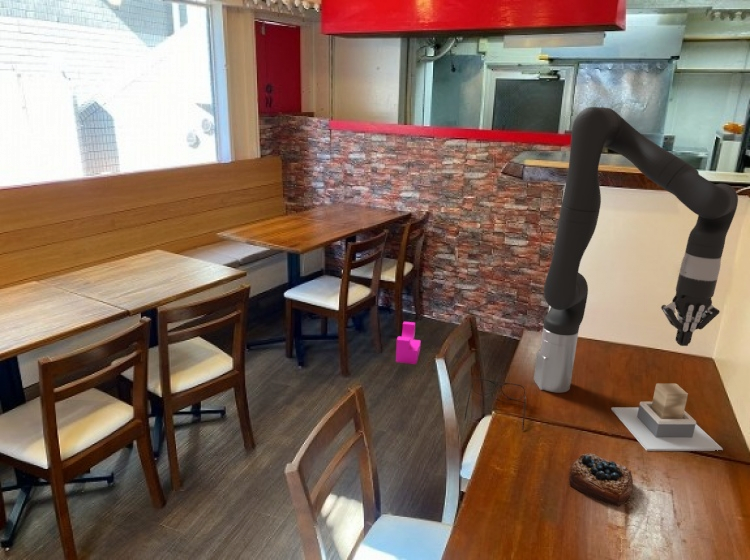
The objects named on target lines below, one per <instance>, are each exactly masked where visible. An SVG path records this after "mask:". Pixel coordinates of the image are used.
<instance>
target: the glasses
mask: <svg viewBox="0 0 750 560" xmlns="http://www.w3.org/2000/svg"><path fill="white" fill-rule="evenodd" d="M477 380H479V381H486V382H488V383H489V382H491V383H492V384H494V388H493V389H492V391H490V392H487V393H478V392H476V391H475V389H474V387H473V385H474V382H475V381H477ZM495 383H497V384H495ZM501 384H502V385H501ZM505 385H514V386H518V387H521V388H523V395H522V396H521V397H520V398H517V399H516V398H514V399H513V398H512V397H509V396H507V395H506V394H505V393H504V391H503V389H502V387H503V386H505ZM497 386H500V391H501V393H502V394H503V395H504V396H505V397H507V399H509V400H512V401H519V400H521V399H522V398H523V416H522V429H521V430H522V431H524V429H525V428H524V427H525V414H526V411H525V410H526V389H525V387H524V386H523V385H522V384H517V383H509V382H503V383H502V382H501V381H493V380H489V379H484V378H475V379H474V380H473V381H472V382H471V385H470V389H469V393H468V397H467V402H466V403H467V404H466V407H465V413H464V420H466V419H467V414H468V407H469V402H470V396H471V393H472V390H473V392H474V393H475V394H477V395H479V396H485V395H486V396H487V395H490V394H491V393H493V392H494V391H495V389H496V387H497Z"/></svg>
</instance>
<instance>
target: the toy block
mask: <svg viewBox="0 0 750 560" xmlns="http://www.w3.org/2000/svg"><path fill="white" fill-rule="evenodd" d="M415 333H416V322H412V321H411V322H410V321H403V323H402V332H401V336H400V335H399V336H397V338H396V351H395V362H396V363H402V364H412V365H417V362H418V359H419V355H420V351H421V344H422V343H421V341H422V340H420V339H415Z"/></svg>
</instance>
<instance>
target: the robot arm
mask: <svg viewBox="0 0 750 560" xmlns="http://www.w3.org/2000/svg"><path fill="white" fill-rule="evenodd" d="M570 137H571V139H570V151H569V159H568V160H569V163H568V170H567V174H566V179H565V184H564V191H563V196H562V199H561V201H562V202H561V203H560V204H561V205H560V210H559V211H560V212H559V217H558V221H557V222H558V224H557V230H556V235H555V240H554V247H553V252H552V253H553V254H552V257H551V261H550V265H549V269H548V272H547V275H546V278H545V282H544V285H543V296H544V299H545V302H546V303H547V305H548V306H549V307H550V308H549V310H548V312H547V314H546V315H545V317H544V319H543V325H542V335H541V341H540V342H541V343H540V349H537V352H536V359H535V367H534V368H535V369H534V376H533V381H534V382H535V384H536V386H537V387H538V388H539V390H541V391H547V392H550V393H556V394H557V393H558V394H559V393H566V392H568V391H569V390H570V388H571V383H572V377H573V376H572V375H573V371H574V370H573V369H574V362H575V357H576V350H577V344H578V343H577V342H578V336H579V331H580V327H581V324H582V323H583V319H584V317H585V311H586V306H587V300H588V294H589V286H588V282H587V280H586V278H585V277H584V275H582V273H580V272H579V271H580V270H579V269H580V265H581V261H582V259H583V257H584V254H585V252H586V250H587V248H588V246H589V244H590V242H591V240H592V238H593V236H594V233H595V231H596V227H597V225H598V219H599V216H600V209H601V204H602V203H601V202H602V197H601V196H602V195H601V187H600V181H599V180H600V179H599V166H600V161H601V156H602V154H603V153H602V152H603V149H604V148H606V149H608V150H611V151H613V152H615V153H618V154H619V155H621V156H622V157H624V158H625V159H626V160H628V161H629V162H630V163H632V164H633V165H634V167H636V168H637V170H638V171H640V172H641V173H642V175H644V176H645V177H646V178H647V179H648V180H650V181H651V182H653V183H654V184H656V185H657V186H658V187H660V188H662V189H663V190H665V191H667V192H669V193H670V194H672V195H674V196H675V198H676V199H677V200H678V201H680V202H681V203H682V204H683V205H684V206H685V207H686V208H687V209H689V210H690V211H691V212H692V213H694V214H695V215H697V220H696V223H695V225H694V226H693V228H692V229H691V230H690V232H689V234H688V235H689V236H688V238H687V242H686V248H685V252H684V254H683V258H682V260H681V264H680V268H679V271H678V272H679V273H678V277H677V282H676V287H675V295H674V297H673V298H672V302H671V303H668V304H667V305H666V304H663V305H661V307H660V309H661V311H662V312H663V313H664V315H665V317H666V318H667V321H668V322H669V324H670V325H671V326H672V327H673V328H675V329H677V330H676V335H675V342H676V343H677V344H678V345H679V346H680V347H688V346H689V345H690V343H691V342H692V337H693V333H694V332H695V331H696V330H702V329H704V328H705V327H706V326H707V325H708V324H709V323H710V322H711V321H712V320H714V319H715V318H716V317H717V316H718V315H719V314H720V312H721V311H720V309H718V308H716V307H715V306H714V305H712V304H713V300H712V298H713V297H714V294H715V290H716V286H717V283H718V278H719V274H720V271H721V265H722V264H721V262H722V257H723V252H724V248H725V245H726V244H725V243H726V237H727V234H728V232H729V230H730V227H731V225H732V222H733V219H734V217H735V214H736V211H737V207H738V203H739V196H738V193H737V191H736V189H735V188H734V187H732V186H731V185H730V184H726V183H716V184H715V183H713V182H711V181H710V180H708V179H707V178H705V177H704V176H702V175H701V174H699V171H698V169H696V168H695V167H694V166H693V165H692V164H690V163H689V162H687V161H685V160H683V159H682V158H680V157H678V156H677V155H675V154H673V153H672V152H670V151H669V150H666V149H665V148H663V147H661V146H660V145H658V144H657V143H655V142H654V141H652V140H650V139H649V138H647V136H644V135H643V134H642V133H640V132H639V131H638V130H637V129H635V128H634V127H633V126H632V125H631V124H630V123H629V122H628V121H627V120H625V118H623V117H622V116H621V115H620V114H619V113H617V112H616V111H615V110H614V109H612V108H609V107H601V106H600V107H599V106H591V107H586V108H584V109H582V110H581V111H580V112H578V114H577V116H576V117H575V119H574V120H573V124H572V129H571V136H570ZM676 312H677V314H676ZM676 315H677V316H676Z"/></svg>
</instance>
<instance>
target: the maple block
mask: <svg viewBox="0 0 750 560" xmlns="http://www.w3.org/2000/svg"><path fill="white" fill-rule="evenodd" d="M688 395H689V393H688V392H686V391H685V390H684V389H683V388H682V387H681V386H679V384H677V383H656V384H655V388H654V393H653V398H652V401H651V402H652V406H651V409H652V410H653V411H654V412H655V413H656V414H657V415H658V416H659V417H660V418H661V419H682V418H683V414H684V411H685V409H686V405H687V401H688Z"/></svg>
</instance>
